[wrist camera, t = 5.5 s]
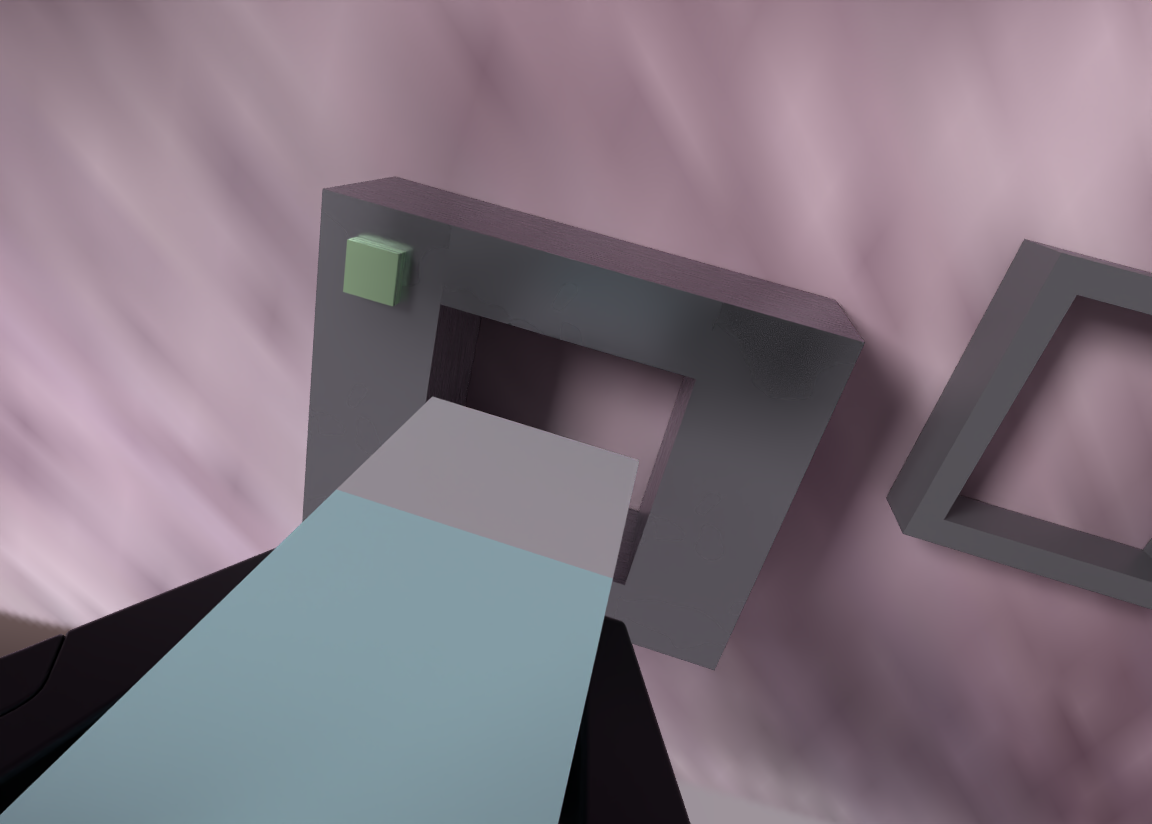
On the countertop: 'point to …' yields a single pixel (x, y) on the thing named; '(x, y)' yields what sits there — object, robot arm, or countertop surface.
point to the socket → (601, 322)
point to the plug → (381, 651)
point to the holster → (979, 406)
